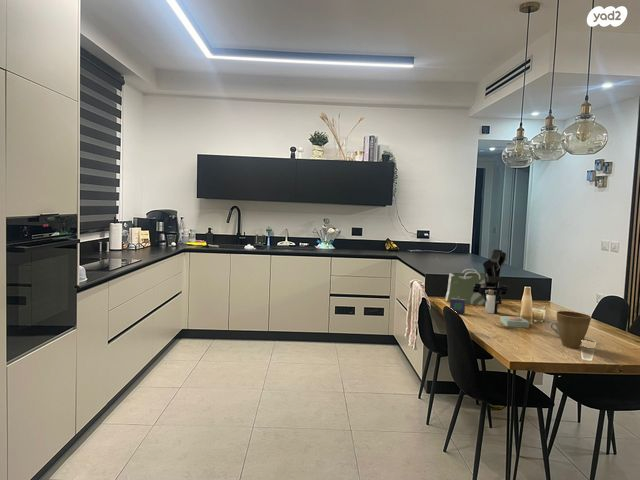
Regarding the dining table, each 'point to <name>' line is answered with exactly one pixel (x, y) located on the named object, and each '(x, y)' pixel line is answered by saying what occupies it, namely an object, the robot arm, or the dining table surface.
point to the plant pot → (572, 327)
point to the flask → (458, 305)
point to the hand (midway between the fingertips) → (490, 301)
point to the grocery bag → (465, 287)
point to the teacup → (556, 328)
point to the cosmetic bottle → (490, 301)
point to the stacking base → (514, 321)
